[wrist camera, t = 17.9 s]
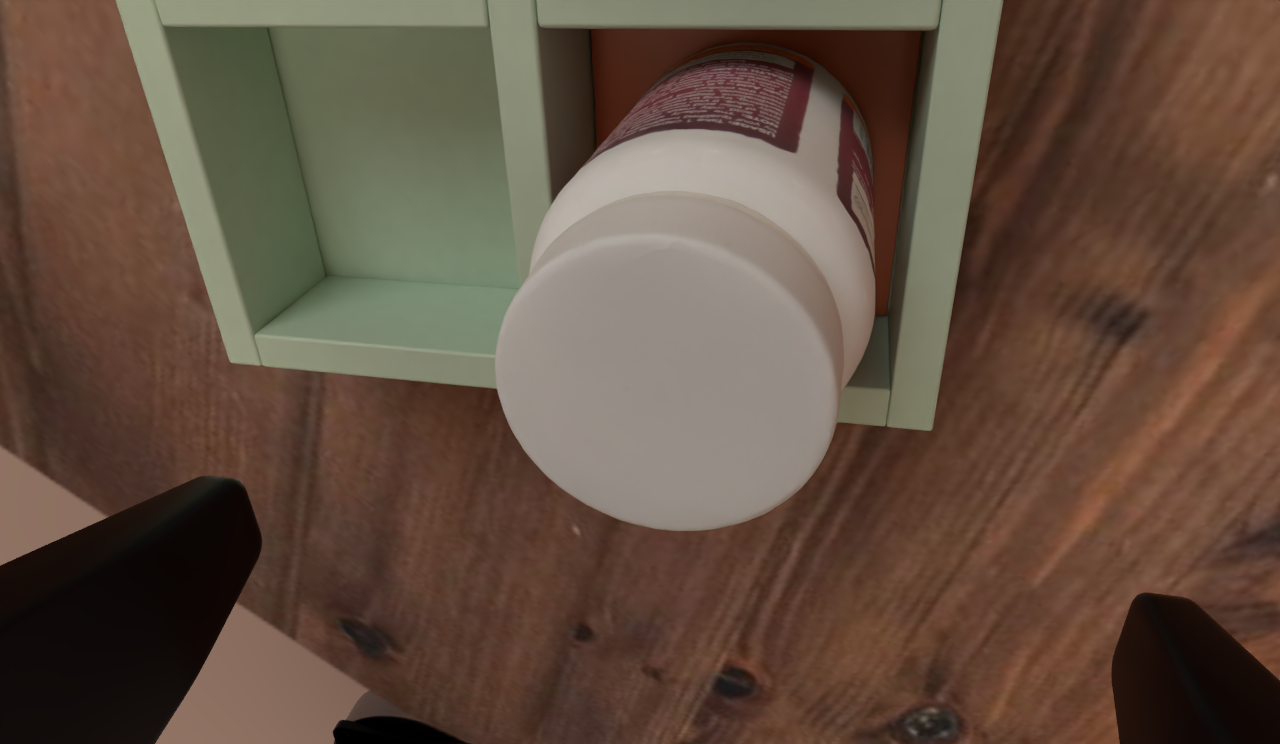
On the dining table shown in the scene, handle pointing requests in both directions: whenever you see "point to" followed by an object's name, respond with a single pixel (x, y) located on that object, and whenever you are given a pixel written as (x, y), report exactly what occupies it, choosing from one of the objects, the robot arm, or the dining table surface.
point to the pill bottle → (699, 296)
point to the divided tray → (516, 161)
